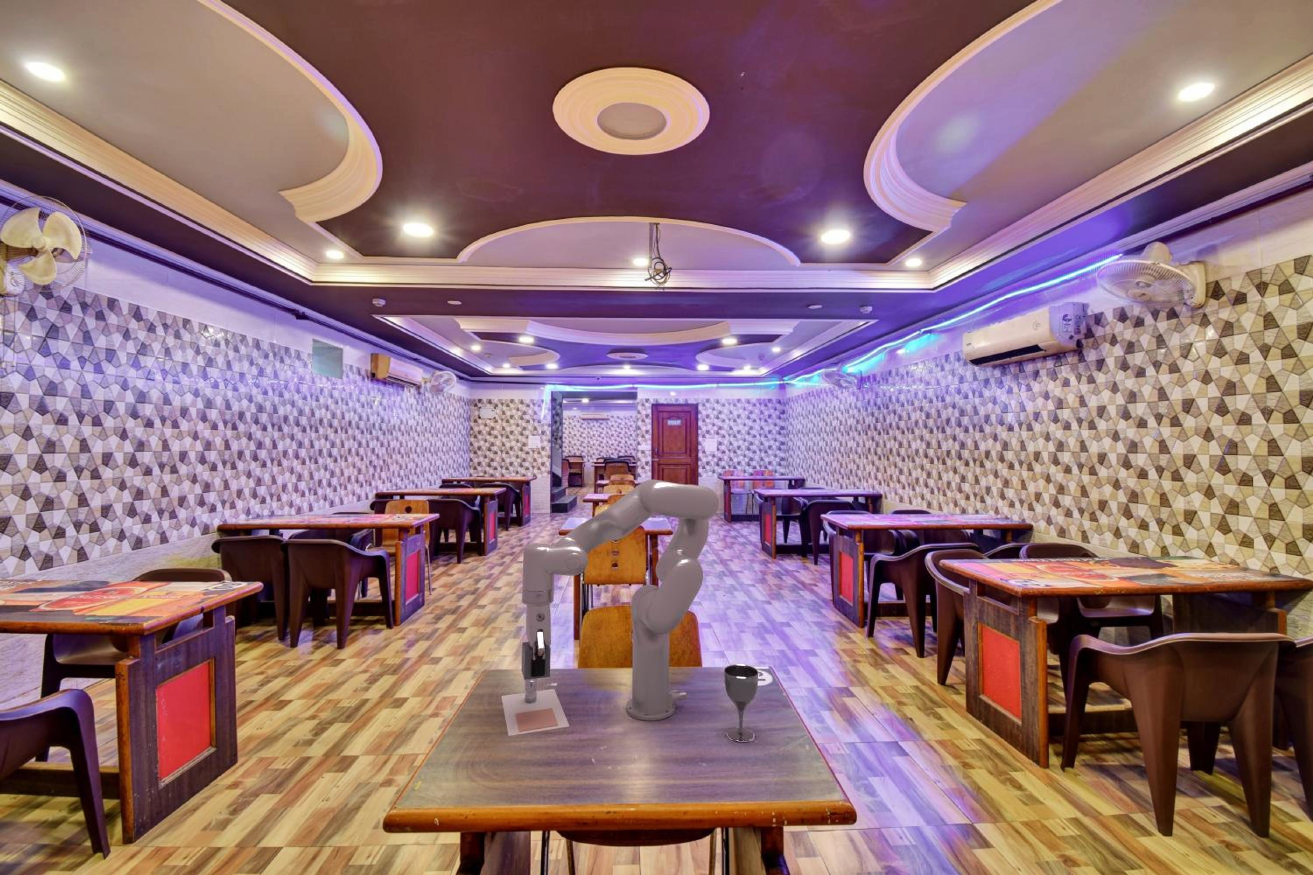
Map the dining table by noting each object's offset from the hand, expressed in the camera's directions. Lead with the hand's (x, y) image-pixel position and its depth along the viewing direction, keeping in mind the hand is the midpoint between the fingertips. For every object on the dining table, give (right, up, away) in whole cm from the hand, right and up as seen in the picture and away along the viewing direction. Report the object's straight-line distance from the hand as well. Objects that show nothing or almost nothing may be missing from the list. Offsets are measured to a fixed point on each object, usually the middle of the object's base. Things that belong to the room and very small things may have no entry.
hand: (535, 669), depth 134 cm
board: (-2, -14, +5) cm, 15 cm away
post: (-4, -12, +10) cm, 16 cm away
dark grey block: (0, -1, 0) cm, 1 cm away
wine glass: (+49, -14, -4) cm, 51 cm away
